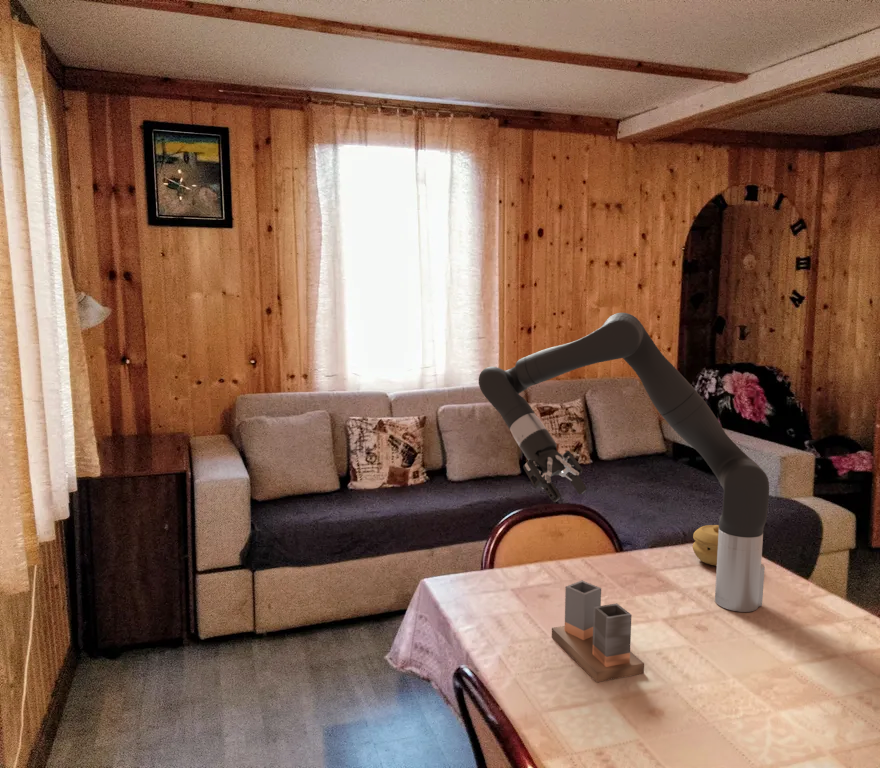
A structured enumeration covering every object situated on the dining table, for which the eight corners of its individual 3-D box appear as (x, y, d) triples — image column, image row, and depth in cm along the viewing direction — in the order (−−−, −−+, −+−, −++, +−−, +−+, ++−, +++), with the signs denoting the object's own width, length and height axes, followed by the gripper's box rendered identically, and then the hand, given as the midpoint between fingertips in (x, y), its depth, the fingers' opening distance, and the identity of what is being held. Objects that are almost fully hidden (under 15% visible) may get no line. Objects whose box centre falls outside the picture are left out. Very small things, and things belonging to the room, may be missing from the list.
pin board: (594, 629, 153) (596, 577, 152) (643, 673, 136) (646, 615, 135) (551, 637, 150) (552, 583, 149) (596, 682, 133) (598, 622, 132)
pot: (719, 551, 198) (721, 516, 196) (750, 567, 186) (752, 530, 185) (682, 556, 194) (684, 520, 192) (711, 573, 183) (713, 535, 181)
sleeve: (564, 630, 149) (565, 586, 147) (580, 623, 152) (582, 580, 150) (583, 640, 145) (584, 594, 143) (599, 632, 148) (601, 588, 147)
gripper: (519, 432, 162) (558, 493, 155) (562, 423, 171) (601, 480, 163) (502, 451, 167) (539, 511, 159) (545, 442, 175) (582, 498, 168)
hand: (570, 496), depth 161 cm, fingers open, 8 cm apart
